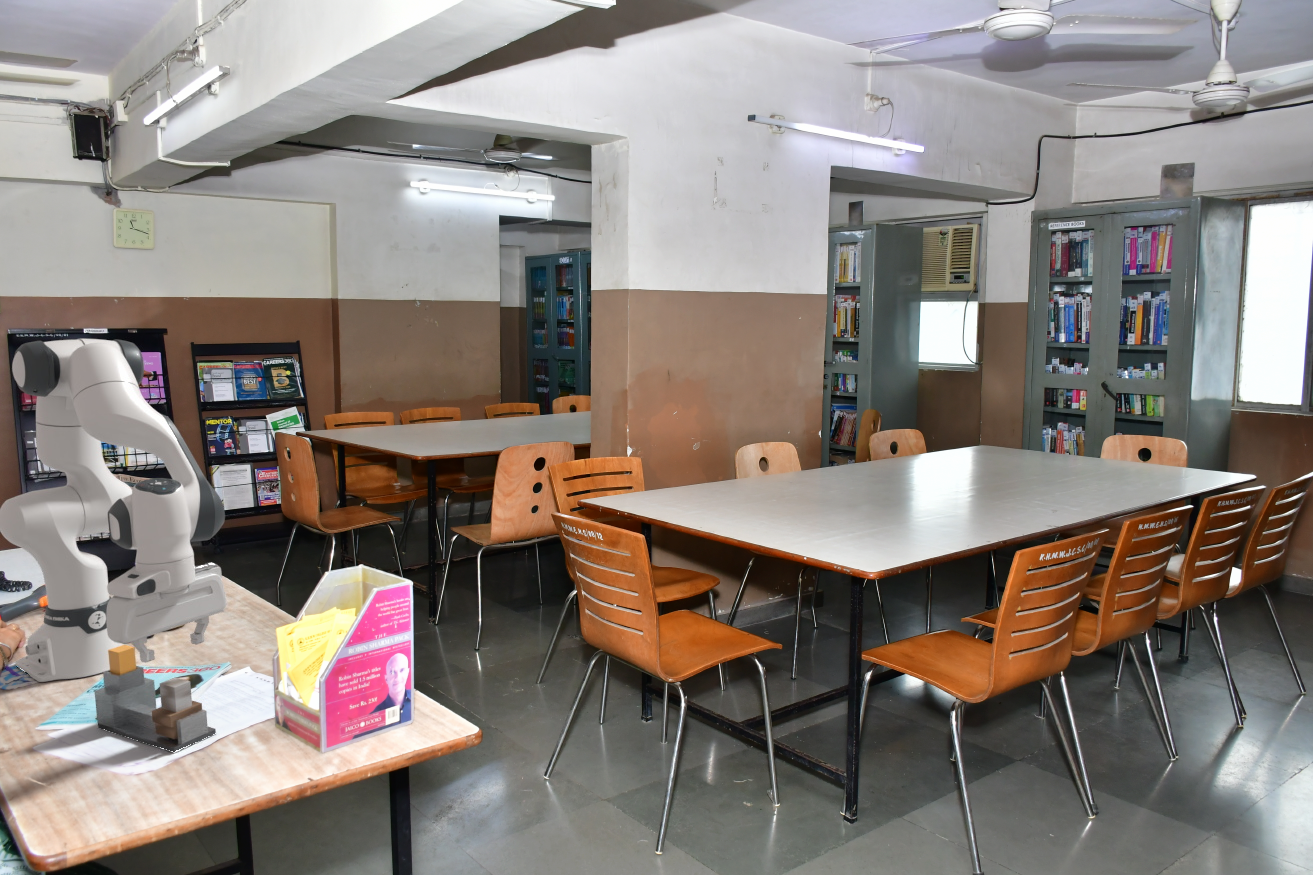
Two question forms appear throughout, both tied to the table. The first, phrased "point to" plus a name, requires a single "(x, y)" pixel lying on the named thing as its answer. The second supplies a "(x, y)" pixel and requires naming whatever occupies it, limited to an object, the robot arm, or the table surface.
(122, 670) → the orange block
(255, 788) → the table surface
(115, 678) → the grey stepped block fixture
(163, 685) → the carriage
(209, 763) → the table surface
